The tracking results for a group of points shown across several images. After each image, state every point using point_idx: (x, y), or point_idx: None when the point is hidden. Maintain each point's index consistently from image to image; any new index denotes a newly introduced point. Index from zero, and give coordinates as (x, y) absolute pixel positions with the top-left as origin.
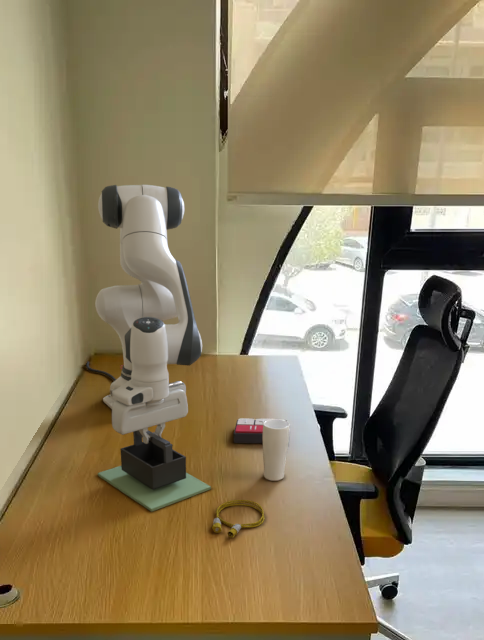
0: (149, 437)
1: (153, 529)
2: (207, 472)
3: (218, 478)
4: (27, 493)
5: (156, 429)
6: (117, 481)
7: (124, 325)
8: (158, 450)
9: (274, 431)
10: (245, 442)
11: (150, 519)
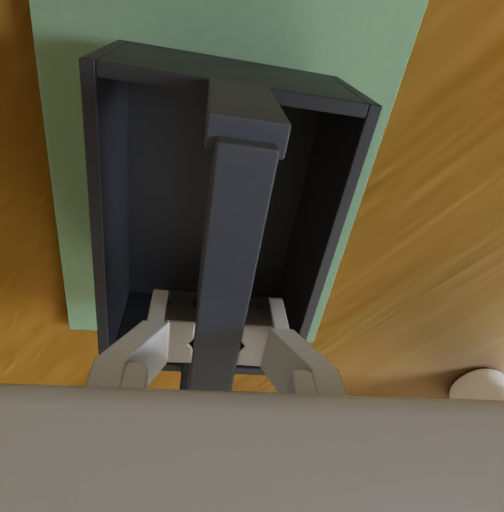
0: (172, 359)
1: (25, 380)
2: (409, 258)
3: (388, 306)
4: None
5: (281, 345)
6: (68, 77)
7: None
8: (330, 163)
9: None
10: None
11: (45, 345)
